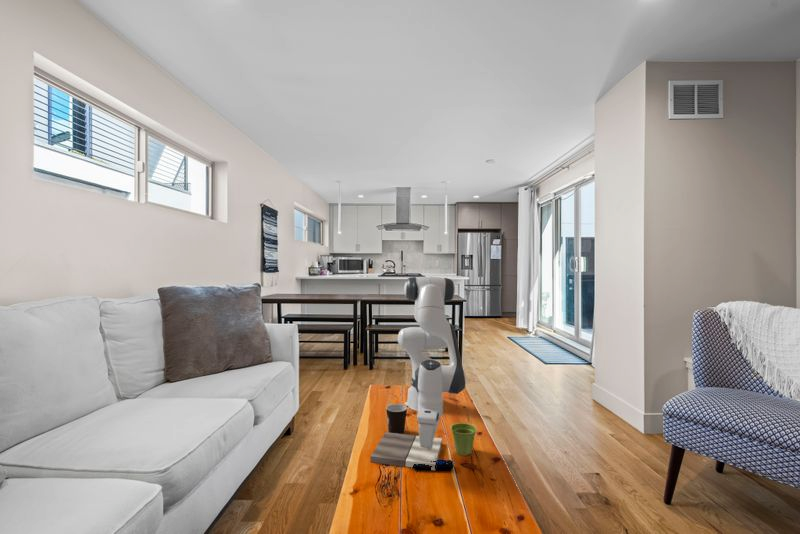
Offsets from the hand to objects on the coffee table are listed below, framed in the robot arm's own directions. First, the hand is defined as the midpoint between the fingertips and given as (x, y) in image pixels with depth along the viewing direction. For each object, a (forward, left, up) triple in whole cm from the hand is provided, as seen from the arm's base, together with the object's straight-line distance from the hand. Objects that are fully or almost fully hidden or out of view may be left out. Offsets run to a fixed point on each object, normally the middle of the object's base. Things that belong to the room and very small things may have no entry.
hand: (429, 448), depth 128 cm
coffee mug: (-21, -17, -5) cm, 28 cm away
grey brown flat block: (-4, -14, -4) cm, 15 cm away
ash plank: (-4, -2, -4) cm, 7 cm away
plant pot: (-10, +11, -5) cm, 16 cm away
